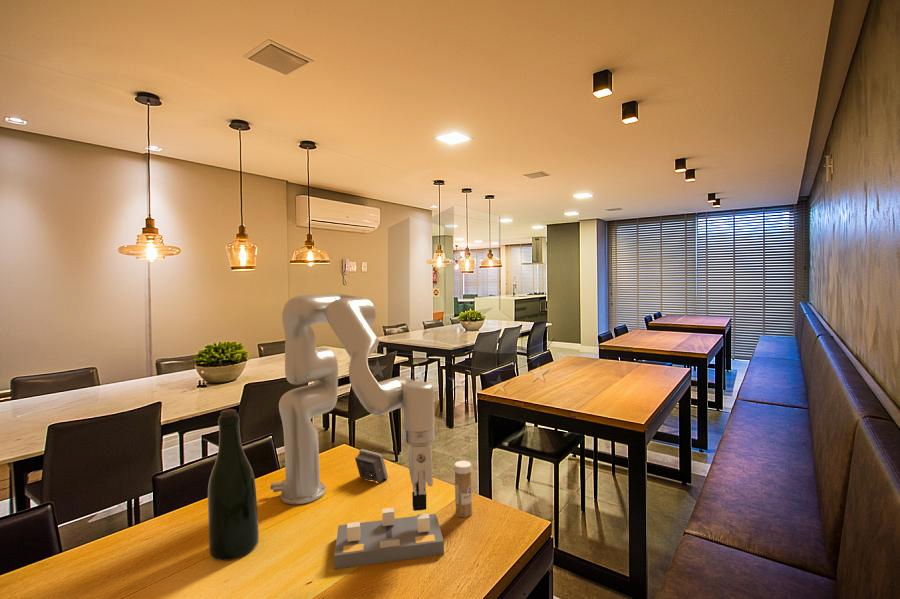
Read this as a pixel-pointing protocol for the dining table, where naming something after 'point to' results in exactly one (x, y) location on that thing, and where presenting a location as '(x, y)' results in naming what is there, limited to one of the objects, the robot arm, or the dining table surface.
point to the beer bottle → (231, 495)
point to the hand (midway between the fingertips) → (419, 508)
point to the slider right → (423, 523)
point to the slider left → (353, 531)
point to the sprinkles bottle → (463, 488)
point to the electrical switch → (371, 465)
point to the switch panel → (388, 542)
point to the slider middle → (388, 516)
